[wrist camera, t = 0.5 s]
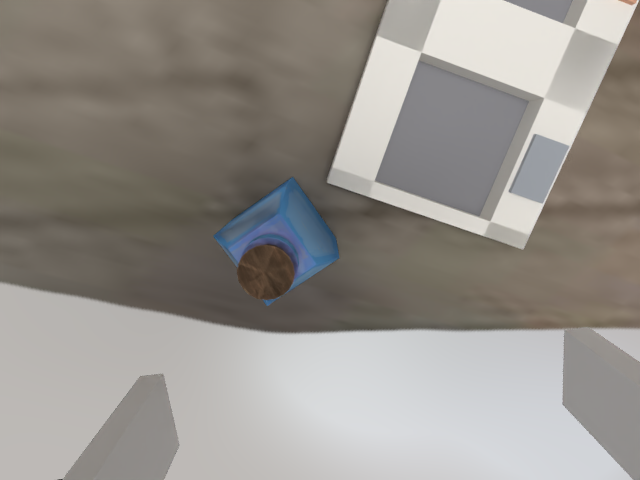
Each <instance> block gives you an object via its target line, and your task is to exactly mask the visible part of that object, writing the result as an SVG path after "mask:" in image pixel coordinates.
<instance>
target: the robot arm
mask: <svg viewBox="0 0 640 480" xmlns="http://www.w3.org/2000/svg"><path fill="white" fill-rule="evenodd" d="M563 366H564V368H563V405H564V406H565V408H567V410H568V411H569V412H570V413H571V414H572V415H573V416H574V417H575V418H576V419H577V420H578V421H579V422H580V423H581V425H582V426H583V427H584V428H585V429H586V430H587V431H588V432H589V433H590V434H591V435H592V436H593V437H594V438H595V439H596V440H597V441H598V442H599V444H600V445H601V446H602V447H603V448H604V449H605V450H606V451H607V452H608V453H609V454H610V455H611V456H612V457H613V458H614V460H615V461H616V462H617V463H618V464H619V465H620V466H621V467H622V468H623V469H624V470H625V471H626V472H627V473H628V474H629V475H630V477H631V478H632V479H633V480H640V362H639V361H637V360H636V359H634V358H633V357H631V356H630V355H629V354H627V353H625V352H624V351H623V350H621V349H620V348H618V347H617V346H615V345H614V344H612V343H611V342H609V341H608V340H606V339H605V338H604V337H602V336H601V335H599V334H598V333H596V332H595V331H593V330H592V329H590V328H589V327H585V328H576V329H566V330H564V365H563ZM178 447H179V441H178V437H177V432H176V428H175V423H174V419H173V415H172V410H171V406H170V401H169V397H168V393H167V388H166V384H165V380H164V376H163V374H156V375H147V376H140V377H139V379H138V380H137V381H136V383H135V384H134V385H133V386H132V388H131V389H130V390H129V392H128V393H127V395H126V396H125V397H124V398H123V400H122V401H121V403H120V404H119V405H118V406H117V408H116V409H115V410H114V412H113V413H112V414H111V416H110V417H109V418H108V420H107V421H106V423H105V424H104V425H103V427H102V428H101V429H100V430H99V432H98V433H97V435H96V436H95V437H94V438H93V440H92V441H91V443H90V444H89V445H88V446H87V448H86V449H85V450H84V452H83V453H82V454H81V456H80V457H79V458H78V460H77V461H76V462H75V464H74V465H73V466H72V468H71V469H70V470H69V472H68V473H67V474H66V476H65V477H64V478H63V479H60V480H164V478H165V476H166V474H167V472H168V469H169V467H170V465H171V463H172V461H173V458H174V456H175V454H176V452H177V450H178Z"/></svg>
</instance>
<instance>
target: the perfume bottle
mask: <svg viewBox="0 0 640 480" xmlns="http://www.w3.org/2000/svg"><path fill="white" fill-rule="evenodd" d="M213 237H214V238H215V239H216V240H217V242H218V243H219V244H220V246H221V247H222V248H223V249H224V251H225V252H226V253H227V255H228V256H229V257H230V259H231V260H232V261H233V262H234V264H235V265H236V266H237V268H238V269H237V275H238V280H239V283H240V284H241V286H242V288H243V289H244V290H245V291H246V292H247V293H248V294H249V295H251V296H253V297H255V298H257V299H262V300H263V301H264V303H265V304H266V305H267V306H268V305H269V304H271V303H272V302H274V301H275V300H277V299H278V298H280V297H281V296H283V295H284V294H286V293H287V292H289V291H290V290H292V289H293V288H295V287H296V286H298V285H299V284H301V283H302V282H304V281H306V280H307V279H309V278H310V277H312V276H313V275H315V274H316V273H318V272H319V271H321V270H322V269H324V268H325V267H327V266H328V265H330V264H331V263H333V262H334V261H336V260H337V259H339V253H338V248H337V242H336V238H335V236H334V235H333V233H332V232H331V230H330V229H329V228H328V226H327V225H326V223H325V222H324V221H323V219H322V218H321V216H320V215H319V213H318V212H317V211H316V209H315V208H314V206H313V205H312V203H311V202H310V201H309V199H308V198H307V196H306V195H305V194H304V192H303V191H302V189H301V188H300V186H299V185H298V184H297V182H296V181H295V179H294V178H293V177H292V178H290V179H289V180H288V181H286V182H285V183H283V184H282V185H280V186H279V187H278V188H276V189H275V190H273V191H272V192H271V193H269V194H268V195H266V196H265V197H264V198H262V199H261V200H259V201H258V202H256V203H255V204H254V205H252V206H251V207H249V208H248V209H247V210H245V211H244V212H242V213H241V214H239V215H238V216H237V217H235V218H234V219H232V220H231V221H230V222H229V223H228V224H227V225H225V226H224V227H223V228H222V229H221V230H220V231H218V232H217V233H216V234H215V235H214V236H213Z"/></svg>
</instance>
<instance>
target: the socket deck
mask: <svg viewBox="0 0 640 480" xmlns="http://www.w3.org/2000/svg"><path fill="white" fill-rule="evenodd" d="M638 2H639V0H387V2H386V5H385V8H384V11H383V14H382V17H381V20H380V23H379V26H378V29H377V32H376V35H375V38H374V41H373V44H372V46H371V49H370V52H369V55H368V58H367V61H366V64H365V67H364V70H363V73H362V76H361V79H360V82H359V85H358V88H357V91H356V94H355V97H354V100H353V102H352V105H351V108H350V111H349V114H348V117H347V120H346V123H345V126H344V129H343V132H342V135H341V138H340V141H339V144H338V147H337V150H336V153H335V156H334V158H333V161H332V164H331V167H330V170H329V173H328V176H327V179H326V180H327V183H329V184H332V185H335V186H338V187H341V188H344V189H347V190H350V191H353V192H356V193H359V194H362V195H365V196H367V197H370V198H373V199H376V200H379V201H382V202H385V203H388V204H391V205H394V206H397V207H400V208H403V209H406V210H409V211H412V212H414V213H417V214H420V215H423V216H426V217H429V218H432V219H435V220H438V221H441V222H444V223H447V224H450V225H453V226H456V227H459V228H461V229H464V230H467V231H470V232H473V233H476V234H479V235H482V236H485V237H488V238H491V239H494V240H497V241H500V242H503V243H506V244H508V245H511V246H514V247H517V248H520V249H524V247H525V245H526V242H527V240H528V238H529V236H530V234H531V232H532V229H533V227H534V225H535V223H536V221H537V219H538V217H539V214H540V212H541V210H542V208H543V206H544V204H545V202H546V199H547V197H548V195H549V193H550V191H551V189H552V186H553V184H554V182H555V180H556V178H557V176H558V174H559V171H560V169H561V167H562V165H563V163H564V161H565V159H566V156H567V154H568V152H569V150H570V148H571V146H572V143H573V141H574V139H575V137H576V135H577V133H578V131H579V128H580V126H581V124H582V122H583V120H584V118H585V116H586V113H587V111H588V109H589V107H590V105H591V103H592V100H593V98H594V96H595V94H596V92H597V90H598V88H599V85H600V83H601V81H602V79H603V77H604V75H605V73H606V70H607V68H608V66H609V64H610V62H611V60H612V58H613V55H614V53H615V51H616V49H617V47H618V45H619V42H620V40H621V38H622V36H623V34H624V32H625V30H626V27H627V25H628V23H629V21H630V19H631V17H632V15H633V12H634V10H635V8H636V6H637V4H638Z"/></svg>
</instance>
